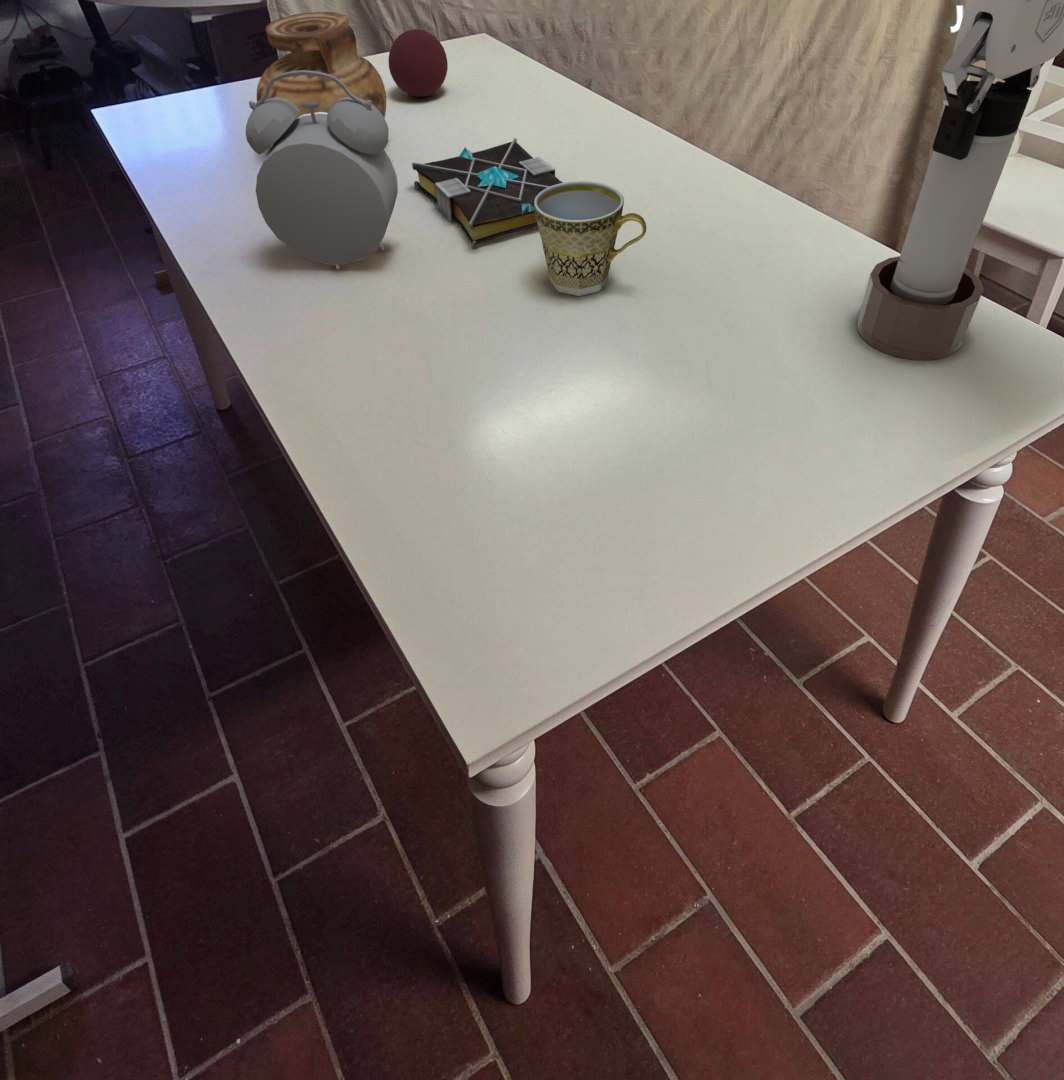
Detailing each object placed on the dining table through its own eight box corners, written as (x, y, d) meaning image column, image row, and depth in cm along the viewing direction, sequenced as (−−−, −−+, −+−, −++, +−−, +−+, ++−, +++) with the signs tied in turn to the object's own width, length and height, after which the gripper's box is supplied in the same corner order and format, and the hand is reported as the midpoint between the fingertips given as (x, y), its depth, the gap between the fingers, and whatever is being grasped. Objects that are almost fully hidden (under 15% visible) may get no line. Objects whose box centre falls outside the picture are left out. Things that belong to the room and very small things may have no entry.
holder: (983, 334, 88) (1004, 284, 84) (921, 372, 84) (940, 321, 80) (898, 294, 95) (913, 244, 90) (836, 328, 90) (849, 277, 86)
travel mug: (874, 286, 87) (937, 79, 72) (922, 272, 89) (993, 67, 74) (916, 314, 83) (992, 101, 69) (966, 299, 85) (1050, 88, 70)
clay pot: (229, 149, 123) (226, -9, 114) (314, 154, 138) (317, 15, 129) (329, 169, 116) (334, 3, 107) (407, 173, 131) (417, 27, 122)
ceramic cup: (523, 294, 98) (519, 212, 90) (556, 255, 104) (555, 175, 96) (627, 315, 94) (631, 231, 86) (655, 273, 100) (661, 191, 92)
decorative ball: (454, 102, 141) (448, 36, 134) (396, 108, 140) (386, 42, 133) (446, 82, 148) (439, 18, 141) (390, 88, 147) (381, 24, 139)
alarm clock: (413, 243, 107) (385, 55, 91) (400, 277, 101) (368, 83, 85) (290, 242, 109) (241, 57, 93) (271, 276, 103) (215, 84, 87)
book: (589, 219, 110) (589, 182, 106) (473, 251, 105) (469, 213, 101) (518, 161, 123) (516, 126, 120) (412, 187, 119) (407, 151, 115)
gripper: (1039, -76, 57) (952, 184, 70) (1166, -114, 63) (1065, 130, 76) (943, -91, 61) (877, 157, 74) (1072, -125, 67) (991, 108, 81)
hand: (973, 141), depth 75 cm, fingers closed on travel mug, 6 cm apart
